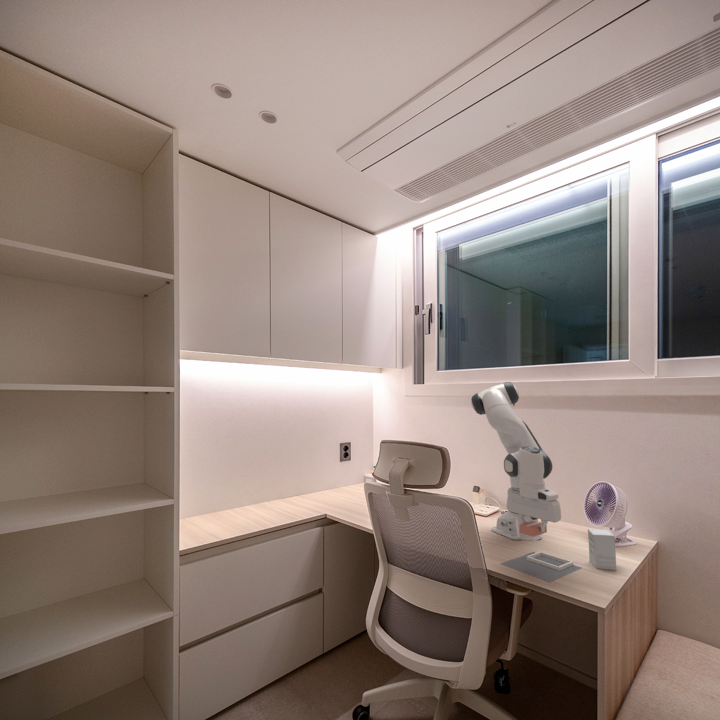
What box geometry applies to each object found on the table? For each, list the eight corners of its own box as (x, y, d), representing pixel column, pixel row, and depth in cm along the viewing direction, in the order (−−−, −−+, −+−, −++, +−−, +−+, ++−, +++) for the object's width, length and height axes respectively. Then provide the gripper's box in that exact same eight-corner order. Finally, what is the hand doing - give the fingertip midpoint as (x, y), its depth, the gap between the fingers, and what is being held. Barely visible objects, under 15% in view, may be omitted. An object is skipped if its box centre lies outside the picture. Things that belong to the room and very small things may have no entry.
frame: (526, 559, 165) (526, 556, 165) (540, 554, 170) (540, 551, 170) (559, 570, 154) (559, 567, 154) (573, 565, 159) (573, 561, 160)
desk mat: (500, 564, 160) (499, 563, 160) (533, 553, 173) (533, 552, 173) (549, 583, 144) (549, 582, 144) (582, 568, 157) (582, 567, 157)
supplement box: (609, 563, 162) (608, 529, 163) (617, 571, 155) (615, 535, 156) (588, 561, 164) (587, 528, 165) (594, 569, 157) (593, 534, 158)
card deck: (533, 536, 152) (533, 528, 152) (519, 532, 156) (519, 524, 156) (546, 532, 157) (546, 523, 157) (533, 528, 161) (532, 520, 162)
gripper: (502, 487, 164) (503, 523, 163) (553, 497, 148) (554, 537, 147) (512, 485, 168) (513, 521, 167) (562, 494, 152) (564, 534, 150)
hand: (533, 529), depth 157 cm, fingers closed on card deck, 5 cm apart
